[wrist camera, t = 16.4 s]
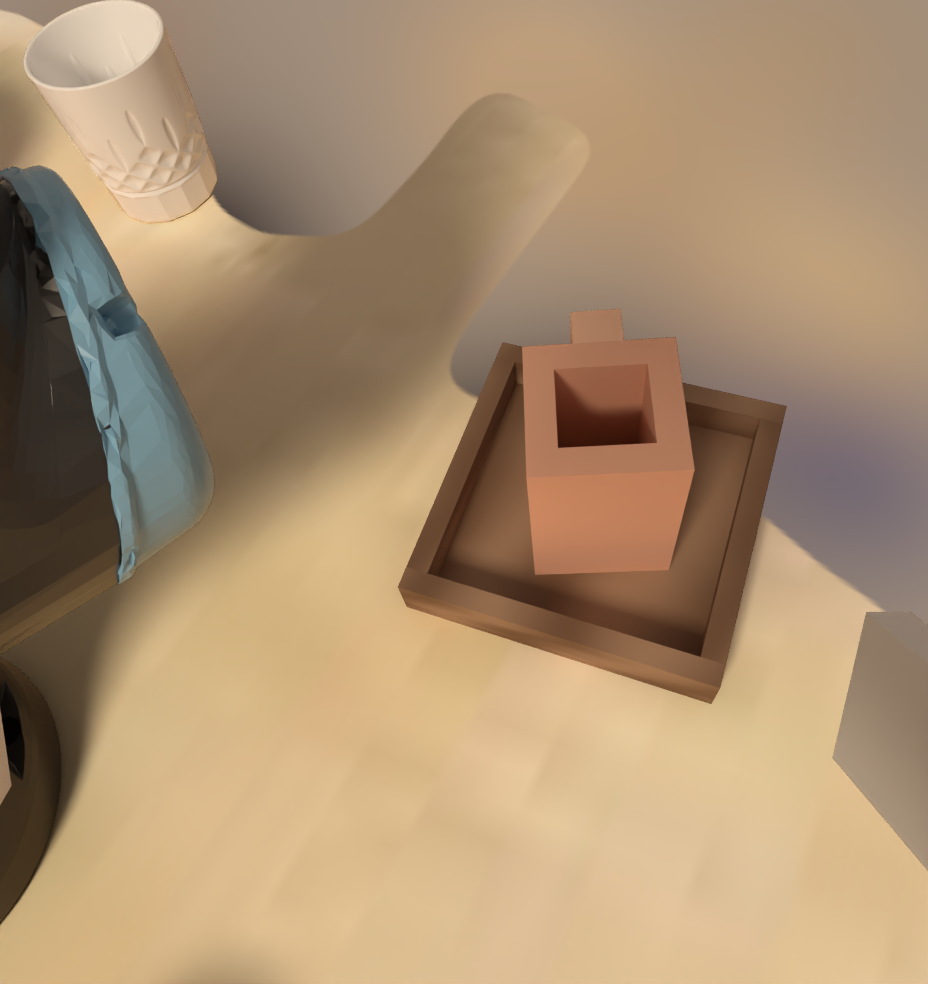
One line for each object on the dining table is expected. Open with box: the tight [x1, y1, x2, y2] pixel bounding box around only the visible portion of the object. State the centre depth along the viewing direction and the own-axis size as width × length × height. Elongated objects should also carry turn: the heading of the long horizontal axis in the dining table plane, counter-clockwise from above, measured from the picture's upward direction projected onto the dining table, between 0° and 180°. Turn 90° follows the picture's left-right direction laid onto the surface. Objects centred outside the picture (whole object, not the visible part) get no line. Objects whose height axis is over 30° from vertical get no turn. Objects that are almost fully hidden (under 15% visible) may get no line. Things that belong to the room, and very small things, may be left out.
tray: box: [398, 343, 786, 704], centre depth 39 cm, size 14×14×2 cm
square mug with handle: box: [522, 309, 695, 575], centre depth 36 cm, size 6×8×9 cm
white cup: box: [23, 0, 217, 223], centre depth 51 cm, size 8×8×10 cm
